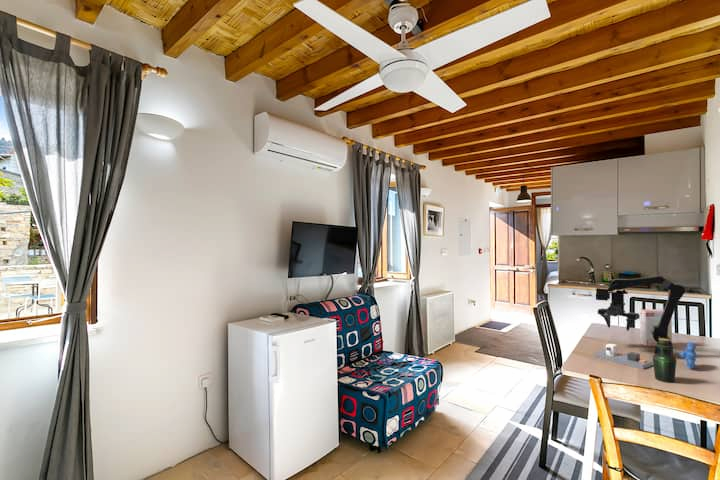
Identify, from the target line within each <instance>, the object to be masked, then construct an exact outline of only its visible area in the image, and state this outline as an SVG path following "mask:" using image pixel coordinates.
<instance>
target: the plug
mask: <svg viewBox="0 0 720 480" xmlns="http://www.w3.org/2000/svg"><path fill="white" fill-rule="evenodd" d="M618 347H619V346H618V344H615V343H607V344H605V350H606V355H609V356H613V357H614V356H617V355H618V353H619V352H618Z"/></svg>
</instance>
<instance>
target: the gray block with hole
mask: <svg viewBox="0 0 720 480" xmlns="http://www.w3.org/2000/svg"><path fill="white" fill-rule="evenodd" d="M593 354H594V356H595V358H597V359H602V360H606V361H610V362H613V363H616V364H617V363H618V364H622V365H624V366H629V367H632V368H633V367H634V368H637V369H639V370H640V369H641V370H645V369H648V368H649V367H654V365H653V360H650V359H649V360H648V359H645V358H641V357H640V356H641V353H636V352H632V351H631V352H628V353H627V354H623V353H620V352H618V355H617V356H614V357H613V356H609V355H606V349H603V350H599V351H597V352H594V353H593Z"/></svg>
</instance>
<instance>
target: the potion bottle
mask: <svg viewBox="0 0 720 480" xmlns="http://www.w3.org/2000/svg"><path fill="white" fill-rule="evenodd" d="M669 341H670V340H669V339H664V338H659V343H656V347H658V348H659V351H660V353H657V354H655V353H654V354H653V355H652V361H653V370H654V378H655V379H656V380H657V381H660V382H663V383H674V382H675V381H676V380H675V379H676V369H677V368H676V367H677V361H678V360H677V359H676V358H675V357H673V356H674V355H673V356H671V355H670V354H668V353H669V350H670V349H673V350H674V346H673V344H672V345H670V344H669ZM672 346H673V347H672Z"/></svg>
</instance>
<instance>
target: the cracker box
mask: <svg viewBox="0 0 720 480" xmlns="http://www.w3.org/2000/svg"><path fill="white" fill-rule="evenodd" d="M663 311H664V308H661V309H654V308H653V309H652V308H651V309H650V308H649V309H639V315H640V318H639V333H640V334H639V337H640V345H641V346H645V347H649V348H651V347H653V348H655V346H656V343H658V342H656V341H655V340H654V339H653V336H652V333H651V331H652V329H653V325H655V326H657V325H658V324H659V322H660V319H661V316H662V314H663ZM672 318H673V317H672ZM672 318H671V320H670V323H669V326H668V335H667V337H668V338H669V339H670V340H671V342H672V343H673V325H672V324H673V323H672V322H673V321H672V320H673V319H672Z"/></svg>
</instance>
